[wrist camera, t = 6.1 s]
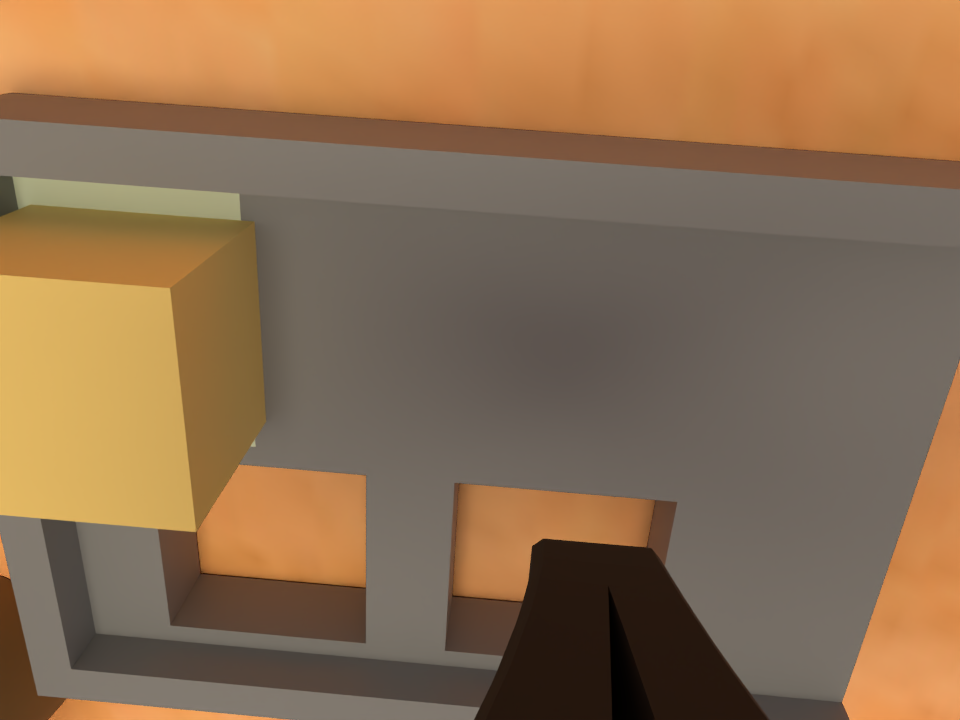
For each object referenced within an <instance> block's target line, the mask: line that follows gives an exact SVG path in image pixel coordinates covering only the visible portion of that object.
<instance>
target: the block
mask: <svg viewBox="0 0 960 720" xmlns="http://www.w3.org/2000/svg"><path fill="white" fill-rule="evenodd" d="M265 423H266V411H265V394H264V377H263V359H262V342H261V325H260V308H259V291H258V273H257V256H256V239H255V222H254V221H241V220H228V219H215V218H201V217H188V216H175V215H162V214H149V213H136V212H123V211H110V210H96V209H83V208H70V207H57V206H44V205H28V206H26V207H23V208H21V209H18V210H16V211H13V212H11V213H8V214H6V215H3V216H1V217H0V515H7V516H18V517H30V518H41V519H53V520H64V521H75V522H87V523H98V524H109V525H121V526H132V527H144V528H155V529H166V530H178V531H189V532H196V531H197V530H198V528H199V527H200V525H201V524H202V522H203V520H204V519H205V517H206V516H207V514H208V513H209V511H210V509H211V508H212V506H213V505H214V503H215V501H216V500H217V498H218V497H219V495H220V494H221V492H222V490H223V489H224V487H225V486H226V484H227V483H228V481H229V479H230V478H231V476H232V475H233V473H234V472H235V470H236V468H237V467H238V465H239V464H240V462H241V460H242V459H243V457H244V456H245V454H246V453H247V451H248V449H249V448H250V446H251V445H252V443H253V442H254V440H255V438H256V437H257V435H258V434H259V432H260V431H261V429H262V427H263V426H264V424H265Z"/></svg>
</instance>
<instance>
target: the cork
mask: <svg viewBox="0 0 960 720" xmlns="http://www.w3.org/2000/svg"><path fill="white" fill-rule="evenodd" d="M65 699H66V698H58V697H48V696H38V694H37V690H36V686H35V681H34V677H33V673H32V668H31V664H30V660H29V655H28V651H27V647H26V643H25V638H24V634H23V630H22V625H21V621H20V617H19V612H18V608H17V604H16V599H15V595H14V591H13V587H12V582H11V580H9V579H7V578H5V577H2V576H0V720H48V719H49V718H50V717H51V716H52V715H53V714H54V712H55V711H56V710H57V709H58V708H59V707H60V706H61V704H62V703H63V702H64V701H65Z"/></svg>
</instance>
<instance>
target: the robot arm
mask: <svg viewBox="0 0 960 720" xmlns="http://www.w3.org/2000/svg"><path fill="white" fill-rule="evenodd" d="M474 720H770V719H769V718H768V717H767V715H766V714H765V713H764V711H763V710H762V709H761V707H760V706H759V705H758V703H757V702H756V700H755V699H754V698H753V696H752V695H751V694H750V692H749V691H748V689H747V688H746V687H745V685H744V684H743V683H742V681H741V680H740V678H739V677H738V676H737V674H736V673H735V672H734V670H733V669H732V667H731V666H730V665H729V663H728V662H727V661H726V659H725V658H724V656H723V655H722V653H721V652H720V650H719V649H718V648H717V646H716V645H715V643H714V642H713V640H712V639H711V637H710V636H709V634H708V633H707V631H706V630H705V628H704V627H703V625H702V624H701V622H700V621H699V619H698V618H697V616H696V615H695V613H694V612H693V610H692V609H691V607H690V606H689V604H688V603H687V601H686V599H685V598H684V596H683V595H682V593H681V592H680V590H679V588H678V587H677V585H676V584H675V582H674V580H673V579H672V577H671V576H670V574H669V572H668V571H667V569H666V568H665V566H664V564H663V563H662V561H661V559H660V558H659V557H658V555H657V554H656V553H655V552H654V551H653V549H652V548H644V547H633V546H621V545H610V544H598V543H587V542H575V541H563V540H552V539H542V540H541V541H539V542H538V543H536V544H535V545H533V546H532V554H531V563H530V572H529V581H528V585H527V589H526V593H525V596H524V600H523V603H522V606H521V609H520V612H519V615H518V619H517V622H516V624H515V627H514V629H513V632H512V634H511V637H510V640H509V642H508V645H507V647H506V650H505V652H504V655H503V657H502V660H501V662H500V665H499V667H498V670H497V672H496V675H495V677H494V679H493V681H492V684H491V686H490V688H489V690H488V692H487V694H486V696H485V698H484V700H483V702H482V704H481V706H480V708H479V710H478V712H477V714H476V717H475V719H474Z"/></svg>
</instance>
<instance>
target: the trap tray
mask: <svg viewBox="0 0 960 720" xmlns="http://www.w3.org/2000/svg"><path fill="white" fill-rule="evenodd" d="M28 205H44V206H57V207H70V208H83V209H96V210H110V211H123V212H136V213H149V214H162V215H175V216H188V217H201V218H215V219H228V220H241V221H254V222H255V239H256V256H257V273H258V291H259V308H260V325H261V342H262V359H263V377H264V394H265V411H266V423H265V424H264V426H263V427H262V429H261V431H260V432H259V434H258V435H257V437H256V438H255V440H254V442H253V443H252V445H251V446H250V448H249V449H248V451H247V453H246V454H245V456H244V457H243V459H242V460H241V462H240V465H252V466H264V467H276V468H287V469H299V470H311V471H322V472H334V473H346V474H357V475H366V589H364V588H353V587H342V586H331V585H319V584H308V583H297V582H286V581H275V580H264V579H253V578H241V577H230V576H219V575H208V574H200V565H199V555H198V546H197V536H196V532H189V531H178V530H166V529H155V528H144V527H132V526H121V525H109V524H98V523H87V522H75V521H64V520H53V519H41V518H30V517H18V516H7V515H0V535H1V539H2V543H3V548H4V552H5V556H6V561H7V565H8V569H9V574H10V578H11V582H12V587H13V591H14V595H15V599H16V604H17V608H18V612H19V617H20V621H21V625H22V630H23V634H24V638H25V643H26V647H27V651H28V655H29V660H30V664H31V668H32V673H33V677H34V681H35V686H36V690H37V694H38V696H48V697H58V698H69V699H80V700H90V701H101V702H111V703H122V704H132V705H143V706H153V707H164V708H174V709H185V710H195V711H206V712H217V713H227V714H238V715H248V716H259V717H269V718H280V719H290V720H474V719H475V717H476V714H477V712H478V710H479V708H480V706H481V704H482V702H483V700H484V698H485V696H486V694H487V692H488V690H489V688H490V686H491V684H492V681H493V679H494V677H495V675H496V672H497V670H498V667H499V665H500V662H501V660H502V657H503V655H504V652H505V650H506V647H507V645H508V642H509V640H510V637H511V634H512V632H513V629H514V627H515V624H516V622H517V619H518V615H519V612H520V609H521V606H522V603H520V602H509V601H498V600H487V599H475V598H464V597H453V596H452V592H453V575H454V558H455V542H456V525H457V508H458V491H459V483H463V484H474V485H486V486H498V487H509V488H521V489H533V490H544V491H556V492H568V493H579V494H591V495H603V496H614V497H626V498H638V499H650V500H656V501H655V506H654V512H653V517H652V523H651V528H650V534H649V539H648V545H647V548H652V549H653V551H654V552H655V553H656V554H657V555H658V557H659V558H660V559H661V561H662V563H663V564H664V566H665V568H666V569H667V571H668V572H669V574H670V576H671V577H672V579H673V580H674V582H675V584H676V585H677V587H678V588H679V590H680V592H681V593H682V595H683V596H684V598H685V599H686V601H687V603H688V604H689V606H690V607H691V609H692V610H693V612H694V613H695V615H696V616H697V618H698V619H699V621H700V622H701V624H702V625H703V627H704V628H705V630H706V631H707V633H708V634H709V636H710V637H711V639H712V640H713V642H714V643H715V645H716V646H717V648H718V649H719V650H720V652H721V653H722V655H723V656H724V658H725V659H726V661H727V662H728V663H729V665H730V666H731V667H732V669H733V670H734V672H735V673H736V674H737V676H738V677H739V678H740V680H741V681H742V683H743V684H744V685H745V687H746V688H747V689H748V691H749V692H750V694H751V695H752V696H753V698H754V699H755V700H756V702H757V703H758V705H759V706H760V707H761V709H762V710H763V711H764V713H765V714H766V715H767V717H768V718H769V719H770V720H849V717H848V715H847V713H846V711H845V708H844V706H843V704H842V701H843V698H844V695H845V692H846V689H847V686H848V683H849V680H850V677H851V674H852V671H853V669H854V666H855V663H856V660H857V657H858V654H859V651H860V648H861V645H862V642H863V639H864V637H865V634H866V631H867V628H868V625H869V622H870V619H871V616H872V613H873V610H874V608H875V605H876V602H877V599H878V596H879V593H880V590H881V587H882V584H883V581H884V578H885V576H886V573H887V570H888V567H889V564H890V561H891V558H892V555H893V552H894V549H895V546H896V544H897V541H898V538H899V535H900V532H901V529H902V526H903V523H904V520H905V517H906V514H907V512H908V509H909V506H910V503H911V500H912V497H913V494H914V491H915V488H916V485H917V483H918V480H919V477H920V474H921V471H922V468H923V465H924V462H925V459H926V456H927V453H928V451H929V448H930V445H931V442H932V439H933V436H934V433H935V430H936V427H937V424H938V421H939V419H940V416H941V413H942V410H943V407H944V404H945V401H946V398H947V395H948V392H949V389H950V387H951V384H952V381H953V378H954V375H955V372H956V369H957V366H958V363H959V360H960V161H946V160H933V159H919V158H905V157H891V156H877V155H863V154H850V153H836V152H822V151H808V150H794V149H780V148H767V147H753V146H739V145H725V144H711V143H698V142H684V141H670V140H656V139H642V138H628V137H615V136H601V135H587V134H573V133H559V132H545V131H532V130H518V129H504V128H490V127H476V126H462V125H449V124H435V123H421V122H407V121H393V120H380V119H366V118H352V117H338V116H324V115H310V114H297V113H283V112H269V111H255V110H241V109H227V108H214V107H200V106H186V105H172V104H158V103H144V102H131V101H117V100H103V99H89V98H75V97H62V96H48V95H34V94H20V93H8V94H2V95H0V217H1V216H3V215H6V214H8V213H11V212H13V211H16V210H18V209H21V208H23V207H26V206H28Z"/></svg>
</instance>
